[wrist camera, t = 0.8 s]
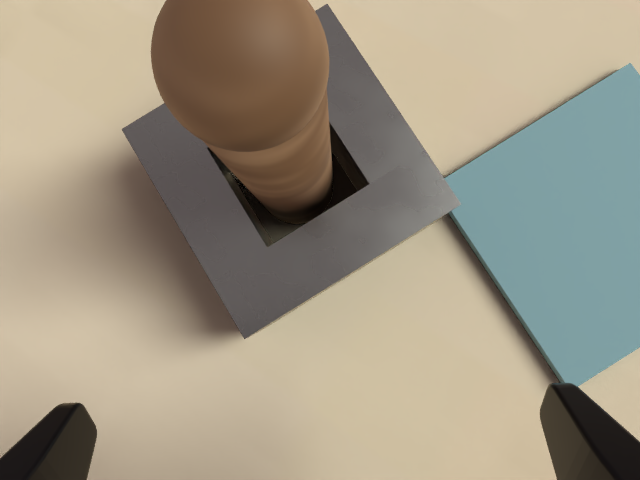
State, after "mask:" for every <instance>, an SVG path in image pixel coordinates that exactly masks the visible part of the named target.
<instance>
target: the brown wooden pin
mask: <svg viewBox="0 0 640 480" xmlns="http://www.w3.org/2000/svg"><path fill="white" fill-rule="evenodd" d="M151 61H152V69H153V74H154V79H155V82H156V84H157V87H158V90H159V92H160V95H161V97H162V99H163V101H164V103H165V105H166V106H167V107H168V109H169V110H170V112H171V113H172V114H173V116H174V117H175V118H176V119H177V121H178V122H179V123H180V124H181V125H182V126H183V127H184V128H186V129H187V130H188V131H189V132H191V133H192V134H193V135H194V136H196V137H197V138H199V139H201V140H202V141H203V142H204V143H205V144H206V145H207V146H208V147H209V148H210V149H211V150H212V151H213V152H214V153H215V154H216V155H217V157H218V158H219V159H220V160H221V161H222V162H223V163H224V164H225V165H226V166H227V167H228V168H229V169H230V170H231V171H232V173H233V174H234V175H235V176H236V177H237V178H238V179H239V180H240V181H241V182H242V183H243V184H244V185H245V186H246V187H247V189H248V190H249V191H250V192H251V193H252V194H253V195H254V196H255V197H256V198H257V199H258V200H259V201H260V202H261V203H262V205H263V206H264V207H265V208H266V209H267V210H268V211H269V212H270V213H271V214H272V215H273V216H274V217H276V218H277V219H279V220H281V221H284V222H287V223H292V224H299V223H305V222H309V221H311V220H312V219H314V218H316V217H317V216H319V215H321V214H322V213H323V212H324V211H325V210H326V208H327V207H328V205H329V203H330V201H331V199H332V195H333V172H332V157H331V143H330V128H329V113H328V99H327V82H328V76H329V51H328V44H327V40H326V36H325V32H324V30H323V27H322V25H321V22H320V20H319V18H318V16H317V14H316V12H315V11H314V9H313V7H312V6H311V4H310V3H309V2H308V1H307V0H166V2H165V3H164V5H163V7H162V9H161V11H160V13H159V15H158V17H157V20H156V23H155V26H154V31H153V36H152V44H151Z"/></svg>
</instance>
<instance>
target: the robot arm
mask: <svg viewBox="0 0 640 480" xmlns="http://www.w3.org/2000/svg"><path fill="white" fill-rule="evenodd" d="M540 420H541V424H542V427H543V431H544V435H545V438H546V442H547V445H548V449H549V452H550V456H551V459H552V463H553V467H554V470H555V474H556V477H557V480H640V442H639V441H638V440H637V439H636V438H635V437H634V436H633V435H632V434H630V433H629V432H628V431H627V430H626V429H625V428H624V427H622V426H621V425H620V424H619V423H618V422H617V421H616V420H615V419H613V418H612V417H611V416H610V415H609V414H608V413H607V412H606V411H604V410H603V409H602V408H601V407H600V406H599V405H598V404H596V403H595V402H594V401H593V400H592V399H591V398H590V397H589V396H587V395H586V394H585V393H584V392H583V391H582V390H581V389H579V388H578V387H577V386H576V385H574V384H572V383H552V384H550V385H549V386H548V388H547V390H546V393H545V396H544V399H543V402H542V405H541V408H540ZM96 438H97V429H96V426H95V424H94V422H93V420H92V419H91V417H90V415H89V413H88V412H87V410H86V408H85V407H84V405H83V404H81V403H63V404H60V405H58V406H56V407H55V408H54V409H53V410H52V411H50V412H49V413H48V414H47V415H46V416H45V417H44V418H43V419H42V420H41V421H40V422H39V423H38V424H37V425H35V426H34V427H33V428H32V429H31V430H30V431H29V432H28V433H27V434H26V435H25V436H24V437H23V438H22V439H20V440H19V441H18V442H17V443H16V444H15V445H14V446H13V447H12V448H11V449H10V450H9V451H8V452H7V453H5V454H4V455H3V456H2V457H1V458H0V480H87V476H88V472H89V468H90V464H91V459H92V455H93V451H94V447H95V442H96Z"/></svg>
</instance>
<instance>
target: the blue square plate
mask: <svg viewBox="0 0 640 480" xmlns="http://www.w3.org/2000/svg"><path fill="white" fill-rule="evenodd" d="M444 179H445V180H446V182H447V183H448V185H449V186H450V188H451V189H452V191H453V192H454V194H455V195H456V197H457V198H458V200H459V201H460V203H461V205H460V206H458V207H457V208H455V209H454V210H452V211H451V212H449V215H450V216H451V218H452V219H453V221H454V222H455V224H456V225H457V227H458V228H459V230H460V232H461V233H462V235H463V236H464V238H465V239H466V241H467V242H468V244H469V245H470V247H471V248H472V250H473V251H474V253H475V254H476V256H477V257H478V259H479V260H480V262H481V263H482V265H483V266H484V268H485V269H486V271H487V272H488V274H489V275H490V277H491V278H492V280H493V281H494V283H495V284H496V286H497V287H498V289H499V290H500V292H501V293H502V295H503V296H504V298H505V299H506V301H507V302H508V304H509V305H510V307H511V308H512V310H513V311H514V313H515V314H516V316H517V317H518V319H519V320H520V322H521V323H522V325H523V326H524V328H525V329H526V331H527V332H528V334H529V335H530V337H531V339H532V340H533V342H534V343H535V345H536V346H537V348H538V349H539V351H540V352H541V354H542V355H543V357H544V358H545V360H546V361H547V363H548V364H549V366H550V367H551V369H552V370H553V372H554V373H555V375H556V376H557V378H558V379H559V381H560V382H561V383H572V384H574V385H576V386H577V387H578V386H579V385H581V384H583V383H584V382H586V381H587V380H589V379H590V378H592V377H594V376H595V375H597V374H598V373H600V372H601V371H603V370H605V369H606V368H608V367H609V366H611V365H613V364H614V363H616V362H617V361H619V360H620V359H622V358H624V357H625V356H627V355H628V354H630V353H631V352H633V351H635V350H636V349H638V348H639V347H640V75H639V74H638V72H637V71H636V70H635V68H634V67H633V66H632V64H631V63H629V64H628V65H626V66H624V67H623V68H621V69H620V70H618V71H616V72H615V73H613V74H612V75H610V76H608V77H607V78H605V79H604V80H602V81H600V82H599V83H597V84H595V85H594V86H592V87H591V88H589V89H587V90H586V91H584V92H583V93H581V94H579V95H578V96H576V97H575V98H573V99H571V100H570V101H568V102H566V103H565V104H563V105H562V106H560V107H558V108H557V109H555V110H554V111H552V112H550V113H549V114H547V115H546V116H544V117H542V118H541V119H539V120H537V121H536V122H534V123H533V124H531V125H529V126H528V127H526V128H525V129H523V130H521V131H520V132H518V133H517V134H515V135H513V136H512V137H510V138H508V139H507V140H505V141H504V142H502V143H500V144H499V145H497V146H496V147H494V148H492V149H491V150H489V151H488V152H486V153H484V154H483V155H481V156H479V157H478V158H476V159H475V160H473V161H471V162H470V163H468V164H467V165H465V166H463V167H462V168H460V169H459V170H457V171H455V172H454V173H452V174H451V175H449V176H447V177H446V178H444Z"/></svg>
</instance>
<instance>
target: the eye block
mask: <svg viewBox="0 0 640 480" xmlns="http://www.w3.org/2000/svg"><path fill="white" fill-rule="evenodd" d="M315 12H316V14H317V16H318V18H319V20H320V22H321V25H322V27H323V30H324V32H325V36H326V40H327V44H328V51H329V76H328V82H327V99H328V113H329V128H330V143H331V151H332V152H333V154H334V155H335V157H336V159H337V160H338V162H339V163H340V165H341V166H342V168H343V169H344V171H345V173H346V174H347V176H348V177H349V179H350V180H351V182H352V183H353V185H354V187H355V188H356V190H357V191H358V192H356V193H354V194H353V195H351V196H350V197H348V198H346V199H345V200H343V201H342V202H340V203H338V204H337V205H335V206H333V207H332V208H330V209H329V210H327V211H325V212H324V213H322V214H321V215H319V216H317V217H316V218H314V219H312V220H311V221H309V222H308V223H306V224H304V225H303V226H301V227H300V228H298V229H296V230H295V231H293V232H291V233H290V234H288V235H287V236H285V237H283V238H282V239H280V240H279V241H277V242H275V243H274V244H273V242H272V240H271V239H270V237H269V236H268V234H267V232H266V231H265V229H264V227H263V226H262V224H261V222H260V221H259V219H258V217H257V216H256V214H255V213H254V211H253V209H252V208H251V206H250V204H249V203H248V201H247V199H246V198H245V196H244V194H243V193H242V191H241V190H240V188H239V186H238V185H237V183H236V181H235V180H234V178H233V176H232V175H231V173H230V172H231V170H230V169H229V168H228V167H227V166H226V165H225V164H224V163H223V162H222V161H221V160H220V159H219V158H218V157H217V155H216V154H215V153H214V152H213V151H212V150H211V149H210V148H209V147H208V146H207V145H206V144H205V143H204V142H203V141H202V140H201V139H199V138H197V137H196V136H194V135H193V134H192V133H191V132H189V131H188V130H187V129H186V128H184V127H183V126H182V125H181V124H180V123H179V122H178V121H177V119H176V118H175V117H174V116H173V114H172V113H171V112H170V110H169V109H168V107H167V106H166V105H165V103H164V104H162V105H161V106H159V107H157V108H156V109H154V110H152V111H151V112H149V113H148V114H146V115H144V116H143V117H141V118H139V119H138V120H136V121H134V122H133V123H131V124H130V125H128V126H126V127H125V128H123V129H122V131H123V132H124V134H125V136H126V138H127V139H128V141H129V143H130V144H131V146H132V148H133V150H134V151H135V153H136V155H137V156H138V158H139V160H140V161H141V163H142V165H143V167H144V168H145V170H146V172H147V173H148V175H149V177H150V179H151V180H152V182H153V184H154V185H155V187H156V189H157V191H158V192H159V194H160V196H161V197H162V199H163V201H164V202H165V204H166V206H167V208H168V209H169V211H170V213H171V214H172V216H173V218H174V220H175V221H176V223H177V225H178V226H179V228H180V230H181V232H182V233H183V235H184V237H185V238H186V240H187V242H188V243H189V245H190V247H191V249H192V250H193V252H194V254H195V255H196V257H197V259H198V261H199V262H200V264H201V266H202V267H203V269H204V271H205V273H206V274H207V276H208V278H209V279H210V281H211V283H212V284H213V286H214V288H215V290H216V291H217V293H218V295H219V296H220V298H221V300H222V302H223V303H224V305H225V307H226V308H227V310H228V312H229V314H230V315H231V317H232V319H233V320H234V322H235V324H236V325H237V327H238V329H239V331H240V332H241V334H242V336H243V337H244V339H246V338H248V337H250V336H251V335H253V334H255V333H257V332H259V331H261V330H262V329H264V328H266V327H267V326H269V325H271V324H272V323H274V322H275V321H277V320H279V319H280V318H282V317H283V316H285V315H287V314H288V313H290V312H291V311H293V310H295V309H296V308H298V307H299V306H301V305H303V304H304V303H306V302H307V301H309V300H311V299H312V298H314V297H316V296H317V295H319V294H320V293H322V292H324V291H325V290H327V289H328V288H330V287H332V286H333V285H335V284H336V283H338V282H340V281H341V280H343V279H344V278H346V277H348V276H349V275H351V274H352V273H354V272H356V271H357V270H359V269H360V268H362V267H364V266H365V265H367V264H369V263H370V262H372V261H373V260H375V259H377V258H378V257H380V256H381V255H383V254H385V253H386V252H388V251H389V250H391V249H393V248H394V247H396V246H397V245H399V244H401V243H402V242H404V241H405V240H407V239H409V238H410V237H412V236H414V235H415V234H417V233H418V232H420V231H422V230H423V229H425V228H426V227H428V226H430V225H431V224H433V223H434V222H436V221H438V220H439V219H441V218H442V217H444V216H445V215H447V214H448V213H449V212H451V211H452V210H454V209H455V208H457V207H458V206H460V205H461V203H460V201H459V200H458V198H457V197H456V195H455V194H454V192H453V191H452V189H451V188H450V186H449V185H448V183H447V182H446V180H445V179H444V177H443V176H442V174H441V173H440V172H439V170H438V169H437V167H436V166H435V164H434V163H433V161H432V160H431V158H430V157H429V155H428V154H427V152H426V151H425V149H424V148H423V146H422V145H421V143H420V142H419V140H418V139H417V137H416V136H415V134H414V133H413V131H412V130H411V128H410V127H409V125H408V124H407V122H406V121H405V119H404V118H403V116H402V115H401V113H400V112H399V110H398V109H397V107H396V106H395V104H394V103H393V101H392V100H391V98H390V97H389V95H388V94H387V92H386V91H385V89H384V88H383V86H382V85H381V83H380V82H379V80H378V79H377V77H376V76H375V74H374V73H373V71H372V70H371V68H370V67H369V65H368V64H367V62H366V61H365V59H364V58H363V56H362V55H361V53H360V52H359V50H358V49H357V47H356V46H355V44H354V43H353V41H352V40H351V38H350V37H349V35H348V34H347V32H346V31H345V29H344V28H343V27H342V25H341V24H340V22H339V21H338V19H337V18H336V16H335V15H334V13H333V12H332V10H331V9H330V7H329V6H328V4H326V5H324V6H323V7H321V8H320V9H318V10H316V11H315Z"/></svg>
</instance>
